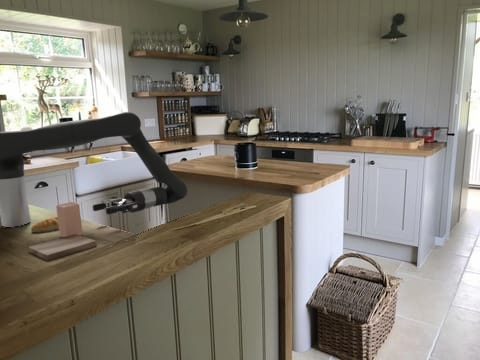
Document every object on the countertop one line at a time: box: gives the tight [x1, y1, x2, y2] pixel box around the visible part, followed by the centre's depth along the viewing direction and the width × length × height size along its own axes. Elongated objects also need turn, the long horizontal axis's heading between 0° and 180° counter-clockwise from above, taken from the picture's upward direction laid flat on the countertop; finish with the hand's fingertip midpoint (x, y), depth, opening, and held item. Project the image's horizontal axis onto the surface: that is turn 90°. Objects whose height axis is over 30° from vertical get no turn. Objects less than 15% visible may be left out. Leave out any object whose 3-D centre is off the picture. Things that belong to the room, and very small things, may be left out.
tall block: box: [55, 201, 84, 238], centre depth 128 cm, size 5×5×10 cm
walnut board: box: [27, 234, 97, 261], centre depth 116 cm, size 12×14×2 cm
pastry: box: [30, 216, 59, 233], centre depth 137 cm, size 9×7×4 cm
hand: (99, 209), depth 136 cm, fingers open, 8 cm apart
